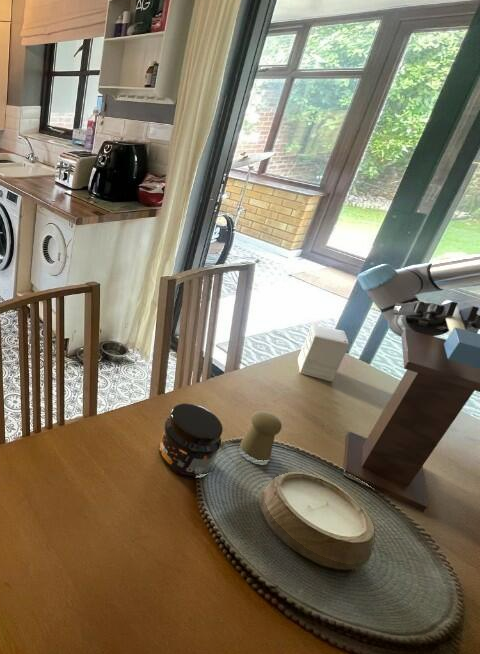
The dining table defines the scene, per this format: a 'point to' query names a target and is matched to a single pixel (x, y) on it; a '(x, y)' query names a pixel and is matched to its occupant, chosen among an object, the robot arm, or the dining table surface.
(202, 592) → the dining table surface
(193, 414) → the supplement container
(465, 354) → the bottle brush
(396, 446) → the stand
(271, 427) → the cork
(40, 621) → the dining table surface
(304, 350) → the white packaging box
